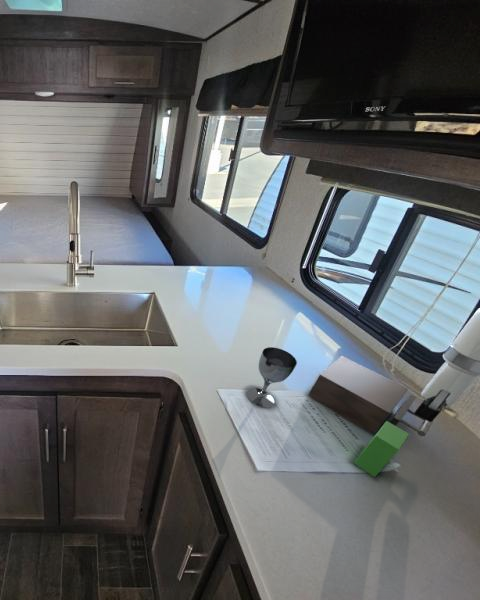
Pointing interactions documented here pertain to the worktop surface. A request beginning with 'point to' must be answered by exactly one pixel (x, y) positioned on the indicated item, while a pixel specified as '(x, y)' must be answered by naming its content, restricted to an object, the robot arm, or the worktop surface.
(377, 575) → the worktop surface
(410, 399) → the drawer
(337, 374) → the cabinet
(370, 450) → the green rectangular prism
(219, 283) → the worktop surface
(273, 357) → the wine glass
